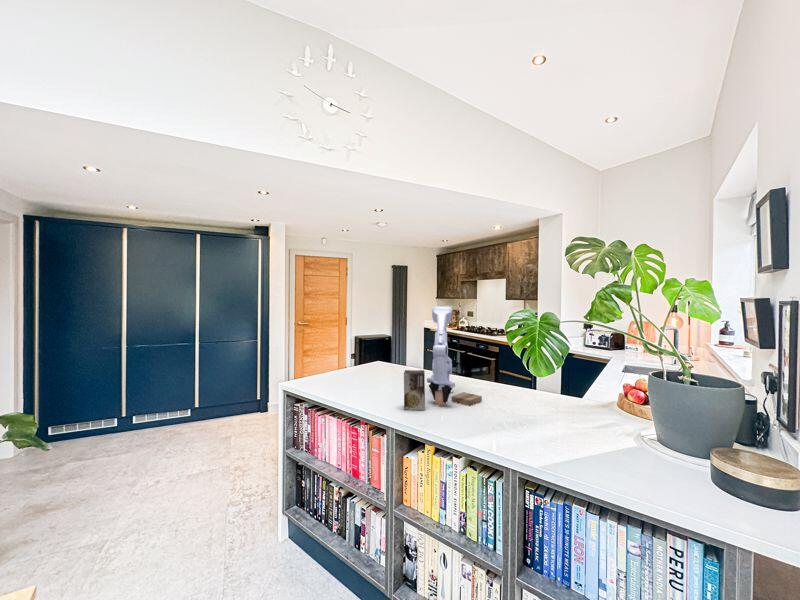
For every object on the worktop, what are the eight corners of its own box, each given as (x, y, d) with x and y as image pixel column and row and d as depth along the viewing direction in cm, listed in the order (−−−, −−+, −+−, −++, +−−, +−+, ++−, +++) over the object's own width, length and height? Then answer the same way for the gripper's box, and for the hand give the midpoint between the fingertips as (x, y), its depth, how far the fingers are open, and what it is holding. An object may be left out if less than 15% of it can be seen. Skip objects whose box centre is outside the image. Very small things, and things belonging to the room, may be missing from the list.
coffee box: (425, 406, 158) (425, 370, 157) (424, 410, 151) (424, 373, 151) (404, 405, 158) (404, 369, 158) (403, 410, 152) (403, 372, 152)
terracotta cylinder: (432, 404, 160) (432, 391, 160) (439, 402, 163) (439, 389, 163) (441, 406, 156) (441, 393, 156) (448, 404, 160) (448, 391, 160)
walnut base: (451, 401, 164) (451, 396, 164) (463, 397, 171) (463, 392, 171) (469, 406, 157) (469, 400, 157) (481, 401, 164) (481, 396, 164)
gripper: (422, 369, 162) (422, 399, 162) (448, 374, 152) (448, 406, 152) (432, 367, 167) (432, 396, 167) (457, 372, 157) (457, 402, 157)
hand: (440, 400), depth 160 cm, fingers closed on terracotta cylinder, 5 cm apart
